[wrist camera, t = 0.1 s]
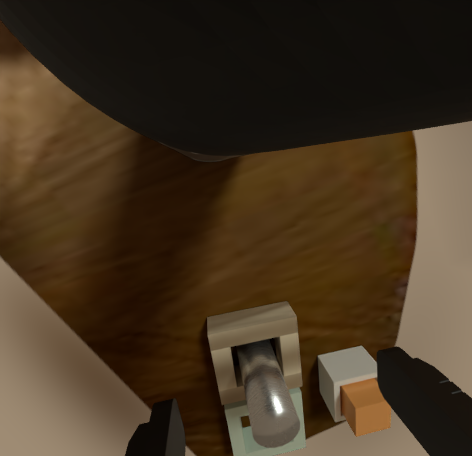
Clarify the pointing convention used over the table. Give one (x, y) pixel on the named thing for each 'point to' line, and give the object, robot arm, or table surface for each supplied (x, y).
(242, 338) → the socket block
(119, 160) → the table surface
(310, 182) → the table surface
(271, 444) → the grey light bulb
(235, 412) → the frame
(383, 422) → the orange cube
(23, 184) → the table surface
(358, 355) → the housing
